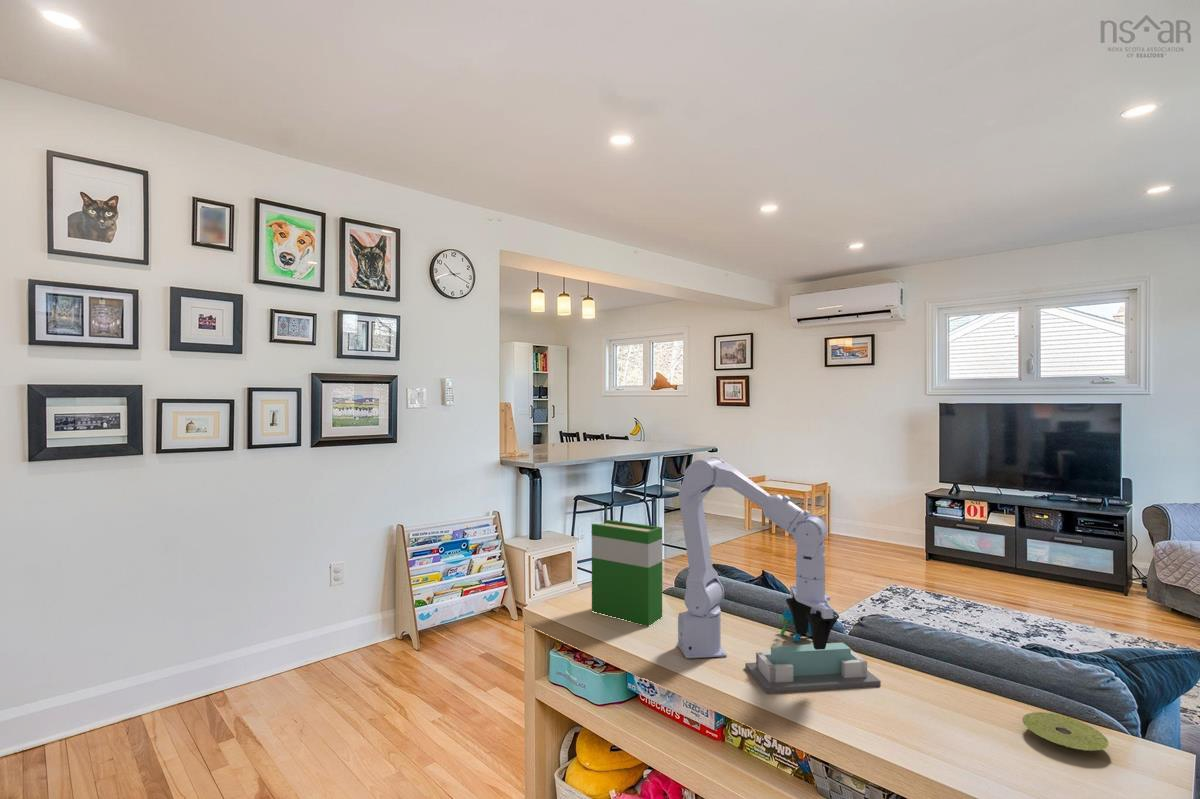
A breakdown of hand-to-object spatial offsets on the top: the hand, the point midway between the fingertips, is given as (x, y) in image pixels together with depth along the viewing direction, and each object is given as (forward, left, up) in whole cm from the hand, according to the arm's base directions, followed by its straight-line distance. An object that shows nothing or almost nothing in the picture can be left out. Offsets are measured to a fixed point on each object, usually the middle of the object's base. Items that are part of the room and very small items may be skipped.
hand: (810, 640), depth 119 cm
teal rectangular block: (0, 0, -6) cm, 6 cm away
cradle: (0, 0, -7) cm, 7 cm away
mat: (+31, -27, -8) cm, 42 cm away
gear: (+7, +19, -8) cm, 22 cm away
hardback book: (-32, +39, -8) cm, 51 cm away
